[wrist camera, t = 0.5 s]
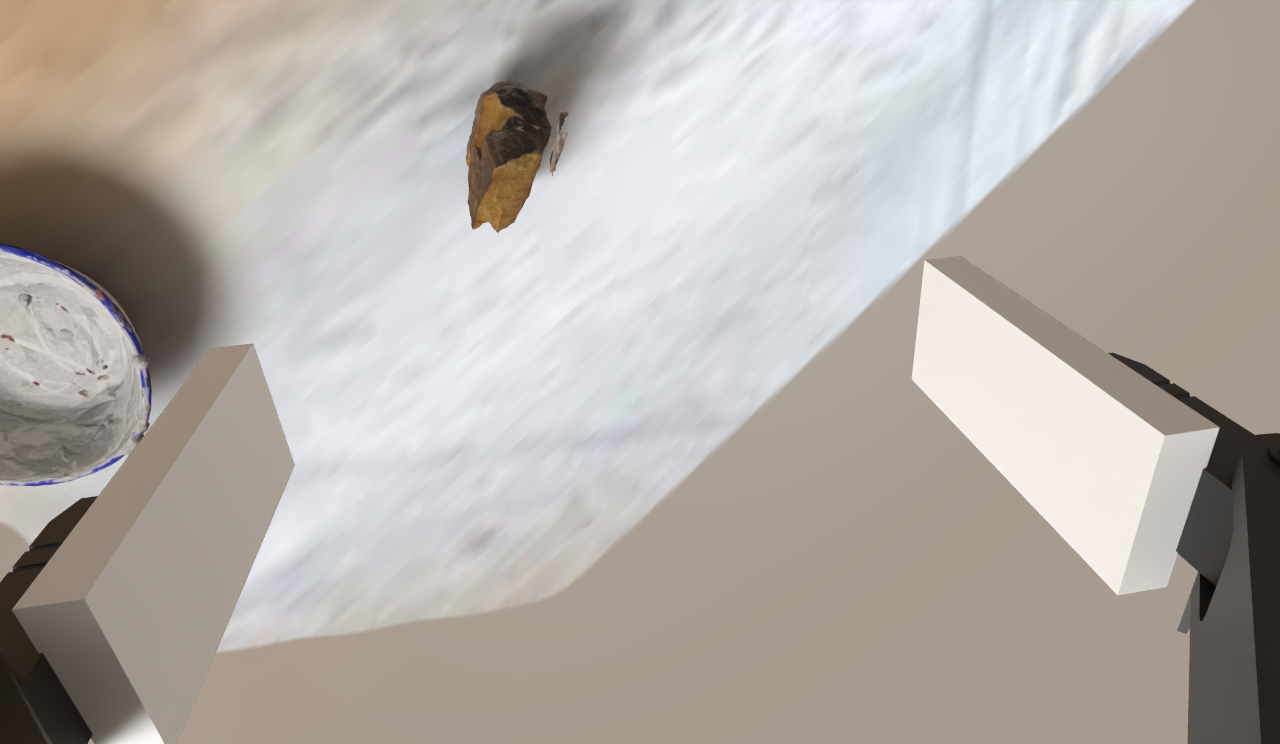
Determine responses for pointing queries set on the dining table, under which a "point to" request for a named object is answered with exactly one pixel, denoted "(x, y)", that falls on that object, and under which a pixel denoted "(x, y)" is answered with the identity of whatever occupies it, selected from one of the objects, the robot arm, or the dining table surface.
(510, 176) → the rock
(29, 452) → the bowl
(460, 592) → the dining table surface
